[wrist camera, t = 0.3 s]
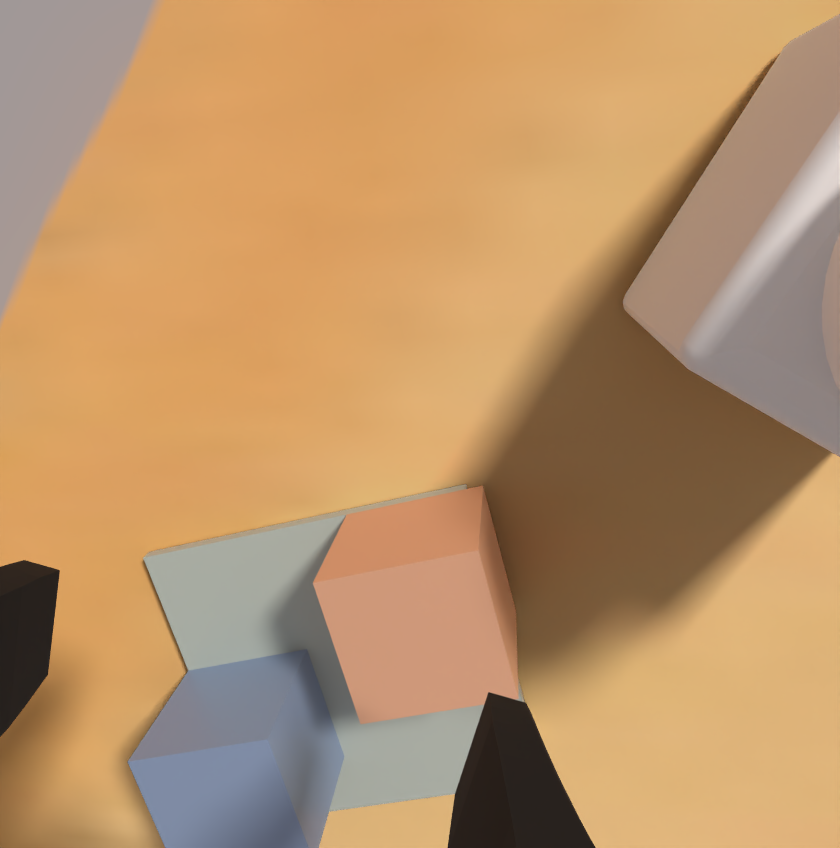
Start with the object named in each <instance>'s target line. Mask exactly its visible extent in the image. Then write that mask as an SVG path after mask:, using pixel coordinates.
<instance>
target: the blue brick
mask: <svg viewBox="0 0 840 848" xmlns="http://www.w3.org/2000/svg"><path fill="white" fill-rule="evenodd" d="M344 757H345V756H344V754H343V751H342V748H341V745H340V742H339V739H338V736H337V734H336V731H335V728H334V725H333V722H332V719H331V716H330V714H329V711H328V708H327V705H326V702H325V699H324V696H323V693H322V691H321V688H320V685H319V682H318V679H317V676H316V673H315V671H314V668H313V665H312V662H311V659H310V656H309V653H308V651H307V649H305V650H299V651H294V652H288V653H283V654H277V655H272V656H266V657H261V658H255V659H250V660H244V661H239V662H233V663H228V664H222V665H217V666H211V667H206V668H200V669H195V670H189V671H188V672H187V673H186V675H185V676H184V678H183V679H182V681H181V682H180V684H179V685H178V687H177V688H176V690H175V691H174V693H173V694H172V696H171V697H170V699H169V700H168V702H167V703H166V705H165V706H164V708H163V709H162V711H161V712H160V714H159V715H158V717H157V718H156V720H155V721H154V723H153V724H152V726H151V727H150V729H149V730H148V732H147V733H146V735H145V736H144V738H143V739H142V741H141V742H140V744H139V745H138V747H137V748H136V750H135V751H134V753H133V754H132V756H131V757H130V759H129V760H128V764H129V766H130V769H131V771H132V773H133V775H134V778H135V780H136V782H137V785H138V787H139V789H140V791H141V794H142V796H143V798H144V800H145V803H146V805H147V807H148V810H149V812H150V814H151V816H152V819H153V821H154V823H155V825H156V828H157V830H158V832H159V835H160V837H161V839H162V841H163V844H164V846H165V848H319V844H320V841H321V837H322V834H323V830H324V827H325V823H326V820H327V816H328V813H329V809H330V806H331V802H332V799H333V795H334V792H335V788H336V785H337V781H338V778H339V774H340V771H341V767H342V764H343V760H344Z"/></svg>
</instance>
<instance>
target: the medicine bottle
mask: <svg viewBox="0 0 840 848" xmlns="http://www.w3.org/2000/svg"><path fill="white" fill-rule="evenodd" d="M623 306H624V310H625V311H626V312H627V313H628V314H629V315H630V316H631V317H632V318H634V319H635V320H636V321H637V322H638V323H639V324H640V325H641V326H642V327H643V328H644V329H645V330H646V331H648V332H649V333H650V334H651V335H652V336H653V337H654V338H655V339H656V340H657V341H658V342H659V343H660V344H662V345H663V346H664V347H665V348H666V349H667V350H668V351H669V352H670V353H671V354H672V355H673V356H674V357H676V358H677V359H678V360H679V361H680V362H681V363H682V364H683V365H684V366H685V367H686V368H687V369H688V370H690V371H692V372H694V373H695V374H697V375H699V376H701V377H702V378H704V379H706V380H708V381H709V382H711V383H713V384H714V385H716V386H718V387H720V388H721V389H723V390H725V391H727V392H728V393H730V394H732V395H733V396H735V397H737V398H739V399H740V400H742V401H744V402H746V403H747V404H749V405H751V406H752V407H754V408H756V409H758V410H759V411H761V412H763V413H765V414H766V415H768V416H770V417H772V418H773V419H775V420H777V421H778V422H780V423H782V424H784V425H785V426H787V427H789V428H791V429H792V430H794V431H796V432H797V433H799V434H801V435H803V436H804V437H806V438H808V439H810V440H811V441H813V442H815V443H816V444H818V445H820V446H822V447H823V448H825V449H827V450H829V451H830V452H832V453H834V454H835V455H837V456H839V457H840V14H839V15H837V16H835V17H833V18H831V19H830V20H828V21H826V22H824V23H822V24H820V25H819V26H817V27H815V28H813V29H811V30H809V31H808V32H806V33H804V34H802V35H800V36H799V37H797V38H795V39H793V40H791V41H790V42H789V43H788V44H787V45H786V46H785V47H784V48H783V50H782V51H781V53H780V54H779V56H778V57H777V59H776V61H775V62H774V64H773V65H772V67H771V68H770V70H769V71H768V73H767V75H766V76H765V78H764V79H763V81H762V82H761V84H760V85H759V87H758V89H757V90H756V92H755V93H754V95H753V96H752V98H751V99H750V101H749V103H748V104H747V106H746V107H745V109H744V110H743V112H742V113H741V115H740V117H739V118H738V120H737V121H736V123H735V124H734V126H733V127H732V129H731V131H730V132H729V134H728V135H727V137H726V138H725V140H724V141H723V143H722V145H721V146H720V148H719V149H718V151H717V152H716V154H715V155H714V157H713V159H712V160H711V162H710V163H709V165H708V166H707V168H706V169H705V171H704V173H703V174H702V176H701V177H700V179H699V180H698V182H697V183H696V185H695V187H694V188H693V190H692V191H691V193H690V194H689V196H688V197H687V199H686V201H685V202H684V204H683V205H682V207H681V208H680V210H679V211H678V213H677V215H676V216H675V218H674V219H673V221H672V222H671V224H670V225H669V227H668V229H667V230H666V232H665V233H664V235H663V236H662V238H661V239H660V241H659V243H658V244H657V246H656V247H655V249H654V250H653V252H652V253H651V255H650V257H649V258H648V260H647V261H646V263H645V264H644V266H643V267H642V269H641V271H640V272H639V274H638V275H637V277H636V278H635V280H634V281H633V283H632V285H631V286H630V288H629V289H628V291H627V292H626V294H625V296H624V299H623Z"/></svg>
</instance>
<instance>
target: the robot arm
mask: <svg viewBox="0 0 840 848" xmlns="http://www.w3.org/2000/svg"><path fill="white" fill-rule="evenodd" d="M59 572H60V570H57V569H54V568H50V567H47V566H43V565H40V564H36V563H32V562H29V561H25V560H23V561H20V562H16V563H12V564H8V565H5V566H2V567H0V736H1V735H2V734H3V733H4V732H5V731H6V730H7V729H8V728H9V726H10V725H11V724H12V722H13V721H14V720H15V719H16V717H17V716H18V715H19V713H20V712H21V711H22V709H23V708H24V707H25V706H26V704H27V703H28V701H29V700H30V699H31V697H32V696H33V694H34V693H35V692H36V690H37V689H38V688H39V686H40V685H41V683H42V682H43V681H44V679H45V678H46V676H47V675H48V668H49V660H50V651H51V642H52V633H53V625H54V616H55V607H56V598H57V590H58V581H59ZM448 848H595V846H594V844H593V843H592V841H591V839H590V837H589V835H588V834H587V832H586V830H585V828H584V826H583V824H582V822H581V820H580V819H579V817H578V815H577V813H576V811H575V809H574V807H573V805H572V803H571V801H570V799H569V797H568V795H567V793H566V791H565V789H564V787H563V785H562V783H561V780H560V778H559V776H558V774H557V772H556V770H555V768H554V765H553V763H552V761H551V759H550V756H549V754H548V752H547V750H546V747H545V745H544V743H543V740H542V738H541V736H540V733H539V731H538V729H537V726H536V724H535V721H534V719H533V717H532V714H531V712H530V710H529V708H528V706H527V704H526V703H525V702H522V701H518V700H515V699H511V698H508V697H504V696H501V695H497V694H494V693H490V692H488V695H487V698H486V701H485V704H484V707H483V710H482V713H481V716H480V719H479V722H478V725H477V728H476V731H475V734H474V737H473V740H472V744H471V747H470V750H469V753H468V756H467V759H466V762H465V765H464V768H463V771H462V774H461V777H460V780H459V783H458V786H457V789H456V792H455V799H454V806H453V813H452V820H451V827H450V834H449V842H448Z"/></svg>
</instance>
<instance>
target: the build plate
mask: <svg viewBox="0 0 840 848" xmlns="http://www.w3.org/2000/svg"><path fill="white" fill-rule="evenodd" d="M464 489H467V485H466V484H464V485H459V486H454V487H450V488H445V489H440V490H436V491H431V492H426V493H422V494H417V495H412V496H408V497H403V498H398V499H394V500H389V501H384V502H380V503H375V504H370V505H366V506H361V507H356V508H352V509H347V510H342V511H338V512H333V513H328V514H324V515H319V516H314V517H310V518H305V519H300V520H296V521H291V522H286V523H282V524H277V525H272V526H268V527H263V528H258V529H254V530H249V531H244V532H240V533H235V534H230V535H226V536H221V537H216V538H212V539H207V540H202V541H198V542H193V543H188V544H184V545H179V546H174V547H170V548H165V549H160V550H156V551H151V552H149V553H148V554H147V555H146V556H145V557H144V558H143V559H144V561H145V564H146V566H147V569H148V571H149V574H150V576H151V579H152V581H153V584H154V586H155V589H156V591H157V594H158V596H159V599H160V601H161V604H162V606H163V609H164V611H165V614H166V616H167V619H168V621H169V624H170V626H171V629H172V631H173V634H174V636H175V639H176V641H177V644H178V646H179V649H180V651H181V654H182V656H183V659H184V661H185V664H186V666H187V669H188V671H189V670H195V669H200V668H206V667H211V666H217V665H222V664H228V663H233V662H239V661H244V660H250V659H255V658H261V657H266V656H272V655H277V654H283V653H288V652H294V651H299V650H305V649H307V651H308V653H309V656H310V659H311V662H312V665H313V668H314V671H315V673H316V676H317V679H318V682H319V685H320V688H321V691H322V693H323V696H324V699H325V702H326V705H327V708H328V711H329V714H330V716H331V719H332V722H333V725H334V728H335V731H336V734H337V736H338V739H339V742H340V745H341V748H342V751H343V754H344V756H345V757H344V760H343V764H342V767H341V771H340V774H339V778H338V781H337V785H336V788H335V792H334V795H333V799H332V802H331V806H330V809H329V811H337V810H344V809H351V808H358V807H365V806H372V805H379V804H386V803H394V802H401V801H408V800H415V799H422V798H429V797H436V796H443V795H451V794H455V792H456V789H457V786H458V783H459V780H460V777H461V774H462V771H463V768H464V765H465V762H466V759H467V756H468V753H469V750H470V747H471V744H472V740H473V737H474V734H475V731H476V728H477V725H478V722H479V719H480V716H481V713H482V710H483V707H484V705H478V706H472V707H465V708H459V709H453V710H447V711H440V712H434V713H428V714H422V715H416V716H409V717H403V718H397V719H391V720H384V721H378V722H372V723H366V724H360V721H359V718H358V715H357V712H356V709H355V706H354V703H353V700H352V697H351V694H350V691H349V689H348V686H347V683H346V680H345V677H344V674H343V671H342V668H341V665H340V662H339V659H338V656H337V653H336V650H335V647H334V644H333V641H332V638H331V635H330V632H329V629H328V627H327V624H326V621H325V618H324V615H323V612H322V609H321V606H320V603H319V600H318V597H317V594H316V591H315V588H314V585H313V582H314V580H315V577H316V575H317V573H318V571H319V569H320V567H321V565H322V563H323V561H324V559H325V557H326V555H327V553H328V551H329V549H330V547H331V545H332V543H333V541H334V539H335V537H336V535H337V533H338V531H339V529H340V527H341V525H342V523H343V521H344V519H345V517H346V515H347V514H351V513H356V512H361V511H366V510H370V509H375V508H380V507H384V506H389V505H394V504H398V503H403V502H408V501H412V500H417V499H422V498H427V497H431V496H436V495H441V494H445V493H450V492H455V491H459V490H464ZM518 692H519V699H515V700H518V701H522V702H525V701H524V697H523V693H522V689H521V686H520V682H519V678H518Z"/></svg>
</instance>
